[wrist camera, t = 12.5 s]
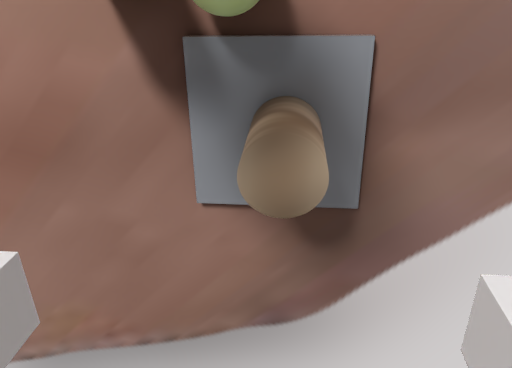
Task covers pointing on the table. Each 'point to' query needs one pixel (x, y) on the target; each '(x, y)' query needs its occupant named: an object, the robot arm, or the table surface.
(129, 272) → the table surface
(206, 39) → the coaster
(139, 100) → the table surface
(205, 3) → the lime
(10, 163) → the table surface
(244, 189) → the cork
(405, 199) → the table surface
